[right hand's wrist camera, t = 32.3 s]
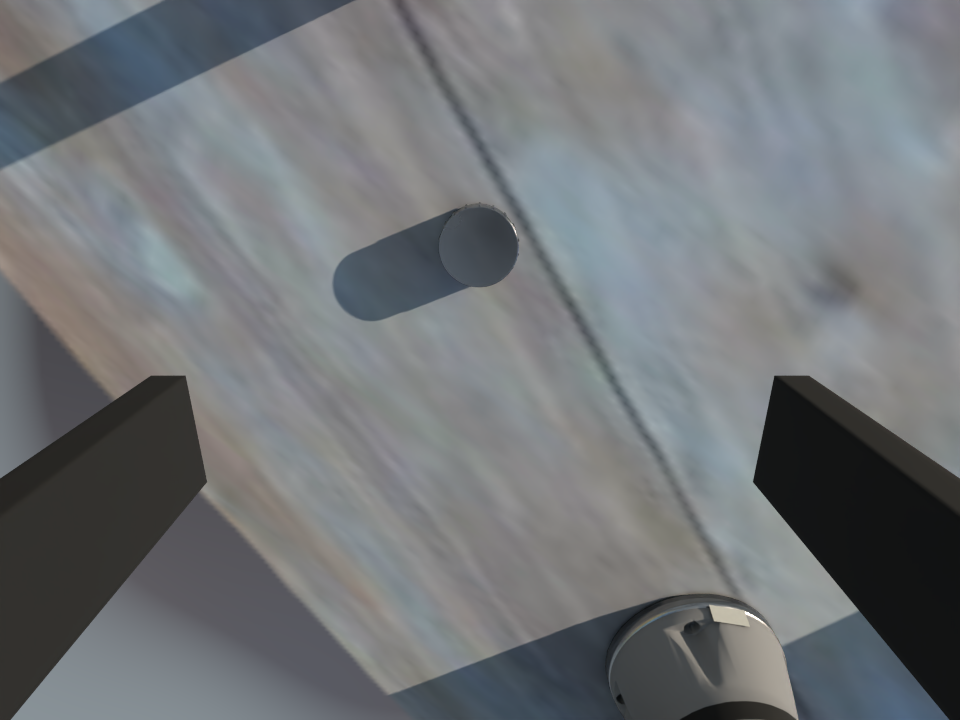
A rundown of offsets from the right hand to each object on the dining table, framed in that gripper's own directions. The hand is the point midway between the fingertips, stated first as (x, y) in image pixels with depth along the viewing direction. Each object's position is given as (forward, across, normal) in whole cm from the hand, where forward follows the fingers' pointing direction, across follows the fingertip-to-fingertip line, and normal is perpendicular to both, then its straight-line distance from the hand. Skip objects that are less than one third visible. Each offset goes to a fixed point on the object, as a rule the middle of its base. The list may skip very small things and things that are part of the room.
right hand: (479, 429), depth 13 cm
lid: (+24, 0, 0) cm, 24 cm away
